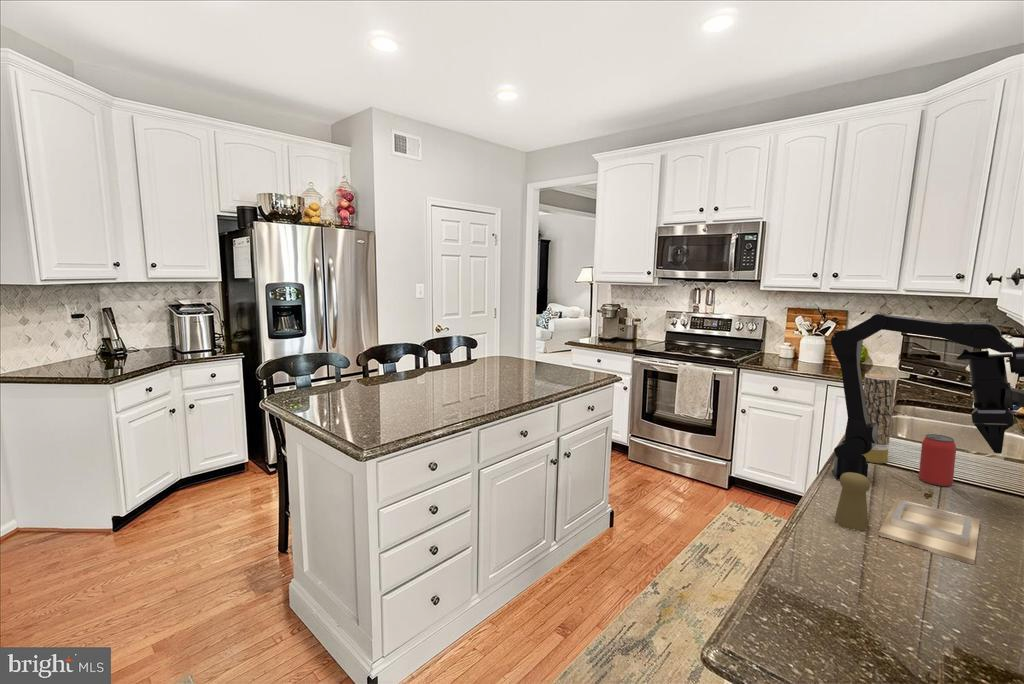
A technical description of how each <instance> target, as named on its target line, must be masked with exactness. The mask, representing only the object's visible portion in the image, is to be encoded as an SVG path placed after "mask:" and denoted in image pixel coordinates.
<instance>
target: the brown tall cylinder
mask: <svg viewBox="0 0 1024 684" xmlns="http://www.w3.org/2000/svg"><path fill="white" fill-rule="evenodd" d="M863 381H864V382H863V390H864V397H865V404H866V411H867V416H868V419H869V420H870V422H871V423H877V433H878V435H879V437H880V438H879V439H878V440H877V442H876V444H875V446H874V447H873V448H872V449H871V451H869V452H868V453H866V454H863V455H864V457H865V458H866V462H867V463H872V464H885V463H888V458H889V449H890V436H891V428H892V427H891V424H892V413H893V403H894V402H893V401H894V393H895V392H894V391H895V376H893V375H889V374H881V373H880V374H879V373H865V375H864V380H863Z"/></svg>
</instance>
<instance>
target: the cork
mask: <svg viewBox="0 0 1024 684" xmlns="http://www.w3.org/2000/svg"><path fill="white" fill-rule="evenodd" d="M839 483H840V486H841V492H840V496H839V498H838V499H839V500H838V504H837V507H836V512H835V515H834V519H835V521H834V522H835V524H837V523H838V524H839V525H838V524H837V525H838V526H840V527H842V528H844V527H845V528H844V529H847V528H849V529H848V530H850V529H855V530H866V529H868V528H869V529H870V527H869V525H870V524H869V516H868V515H869V514H868V504H867V503H868V501H867V492H868V491H869V490H870V487H871V484H870V483H871V481H870V480H869V478H868V476H867V477H865V476H864V475H861V474H858V473H853V472H846V473H843V474H842V475H841V477H840V480H839ZM869 529H868V530H869ZM855 530H854V531H855ZM866 531H867V530H866Z"/></svg>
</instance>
